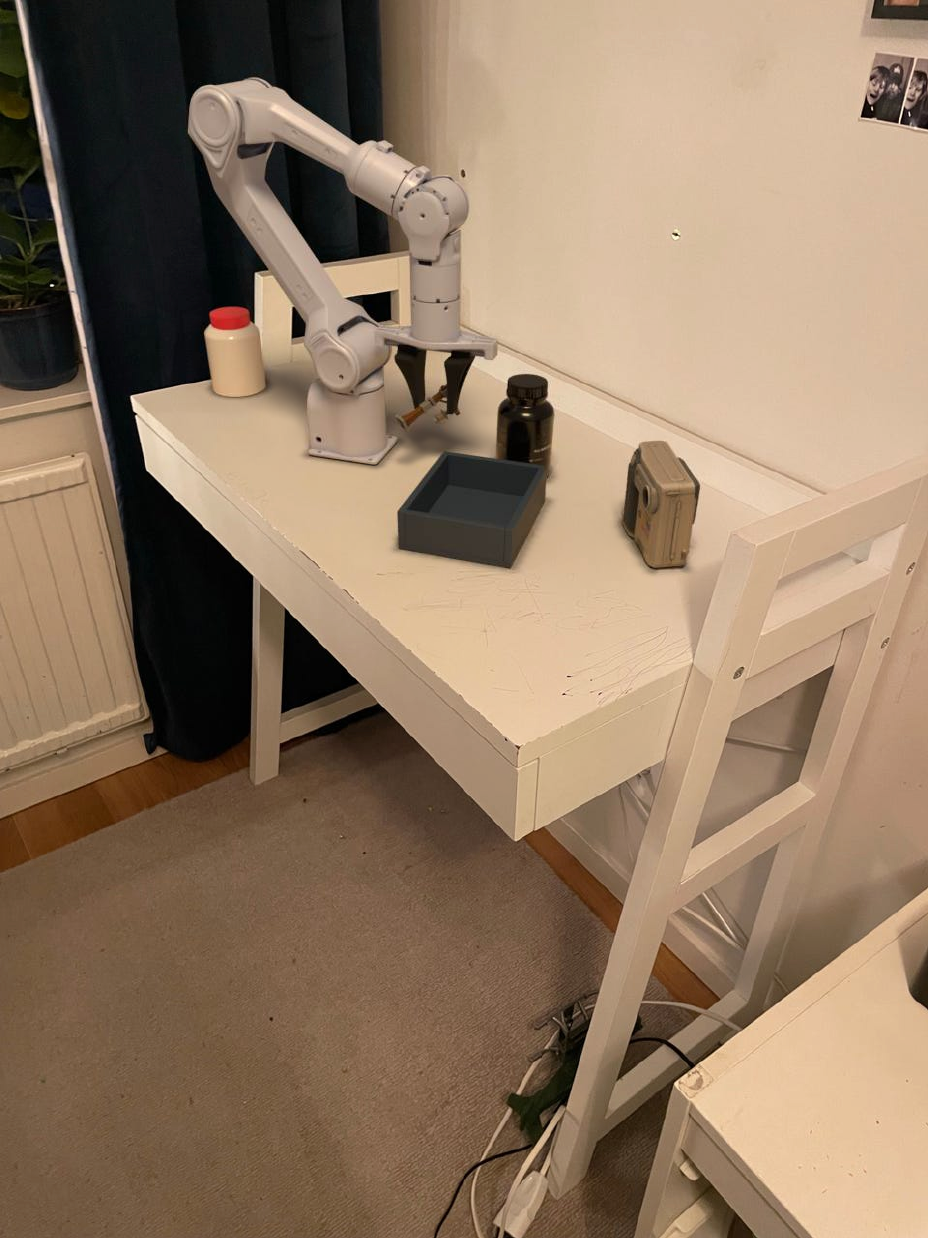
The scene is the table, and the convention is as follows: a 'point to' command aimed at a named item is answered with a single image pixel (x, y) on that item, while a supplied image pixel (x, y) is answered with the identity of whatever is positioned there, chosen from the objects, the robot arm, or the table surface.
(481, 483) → the bin
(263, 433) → the table surface
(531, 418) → the supplement bottle
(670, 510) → the camera
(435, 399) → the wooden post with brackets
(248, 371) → the pill bottle
